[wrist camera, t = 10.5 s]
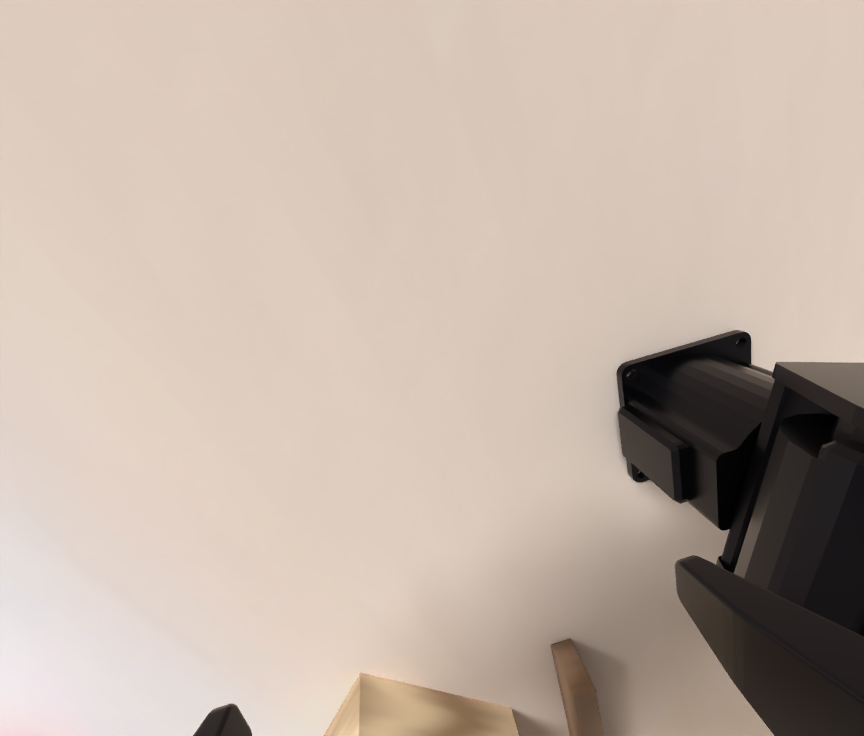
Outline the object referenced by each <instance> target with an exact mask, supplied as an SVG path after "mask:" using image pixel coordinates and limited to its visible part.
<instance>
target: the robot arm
mask: <svg viewBox="0 0 864 736" xmlns="http://www.w3.org/2000/svg"><path fill="white" fill-rule="evenodd" d="M738 339H739V342H738V343H737V344H736V342H737V340H738ZM631 369H632V373H631V374H630V376H628V377H627V376H626V375H627V372H628V371H629V370H631ZM617 380H618V389H619V398H620V409H619V411H618V418H619V427H620V435H621V444H622V452H623V456H624V457H626V459H627V468H628V474H629V476H630V477H631V478H632V479H634V480H635V481H636V482H644V481H647V480H651V481H653V482H654V483H655V484H656V485H657V486H658V487H659V488H660V489H662V490H663V491H664V492H665V493H666V494H667V495H668V496H669V497H671V498H672V499H673V500H675V501H676V502H678V503H683V502H689V503H690V504H691V505H692V506H693V507H694V508H696V509H697V510H698V511H699V512H700V513H701V514H703V515H704V516H705V517H706V518H707V519H708V520H710V521H711V522H712V523H713V524H714V525H715V526H717V527H718V528H719V529H720V530H728V529H730V531H729V534H728V538H727V541H726V544H725V548H724V551H723V554H722V556H719V557H718V560H717V564H716V565H715V564H713V563H711V562H709V561H707V560H705V559H703V558H701V557H698V556H689V557H686V558H683V559H680V560H678V561H676V563H675V574H676V586H677V593H678V596H679V599H680V601H681V603H682V604H683V606H684V607H685V609H686V610H687V612H688V614H689V615H690V617H691V618H692V620H693V621H694V623H695V624H696V626H697V627H698V629H699V631H700V632H701V634H702V635H703V637H704V638H705V640H706V641H707V643H708V644H709V646H710V647H711V649H712V651H713V652H714V654H715V655H716V657H717V658H718V660H719V661H720V663H721V664H722V666H723V667H724V669H725V670H726V672H727V673H728V675H729V676H730V678H731V679H732V681H733V682H734V684H735V685H736V686H737V688H738V689H739V690H740V692H741V693H742V694H743V696H744V697H745V698H746V700H747V701H748V702H749V703H750V705H751V706H752V707H753V709H754V710H755V711H756V712H757V714H758V715H759V716H760V718H761V719H762V720H763V721H764V723H765V724H766V725H767V727H768V728H769V729H770V730H771V732H772V733H773V734H774V736H864V363H824V362H776V364H775V368H774V371H773V372H771V371H769V370H766V369H763V368H760V367H757V366H755V365H752V364H751V337H750V335H749V334H748V333H746V332H743V331H739V330H734V331H731V332H727V333H724V334H720V335H717V336H713V337H710V338H707V339H703V340H700V341H696V342H693V343H689V344H686V345H683V346H679V347H676V348H672V349H669V350H665V351H662V352H659V353H655V354H652V355H648V356H645V357H641V358H638V359H635V360H631V361H628V362H625V363H623V364H621V365H620V367H619V368H618V370H617ZM639 470H640V471H641V472H640V473H638V471H639ZM637 473H638V474H637ZM193 736H252V732H251V729H250V727H249V726H248V724H247V722H246V720H245V719H244V717H243V715H242V714H241V712H240V710H239V708H238V707H237V706H236V705H235V704H228V705H225V706H222V707H218V708H216V709H214V710H212V711H211V712H210V713H209V714H208V715H207V717H206V718H205V720H204V721H203V722H202V724H201V725H200V727H199V728H198V730H197V731H196V732H195V734H194V735H193Z"/></svg>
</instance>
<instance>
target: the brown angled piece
mask: <svg viewBox="0 0 864 736" xmlns="http://www.w3.org/2000/svg"><path fill="white" fill-rule="evenodd" d="M551 648H552V653H553V658H554V662H555V667H556V671H557V676H558V681H559V685H560V690H561V695H562V699H563V704H564V708H565V713H566V718H567V722H568V727H569V732H570V736H603V730H602V725H601V719H600V714H599V708H598V702H597V697H596V691H595V688H594V686H593V684H592V682H591V680H590V678H589V676H588V674H587V672H586V670H585V668H584V666H583V664H582V662H581V660H580V658H579V656H578V654H577V652H576V650H575V648H574V646H573V644H572V642H571V640H570V639H568V640H565V641H562V642H559V643H556V644H553V645H551Z"/></svg>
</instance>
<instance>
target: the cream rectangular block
mask: <svg viewBox="0 0 864 736" xmlns="http://www.w3.org/2000/svg"><path fill="white" fill-rule="evenodd" d="M324 736H519V733H518V730H517V727H516V723H515V720H514V717H513V713H512V710H511V708H509V707H504V706H500V705H496V704H492V703H487V702H483V701H479V700H474V699H470V698H466V697H462V696H457V695H453V694H449V693H445V692H440V691H436V690H432V689H428V688H423V687H419V686H415V685H411V684H406V683H402V682H398V681H394V680H389V679H385V678H381V677H377V676H372V675H368V674H364V673H360V674H359V675H358V677H357V679H356V681H355V682H354V684H353V686H352V688H351V689H350V691H349V693H348V695H347V696H346V698H345V700H344V701H343V703H342V705H341V707H340V708H339V710H338V712H337V714H336V715H335V717H334V719H333V721H332V722H331V724H330V726H329V728H328V729H327V731H326V733H325V734H324Z"/></svg>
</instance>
